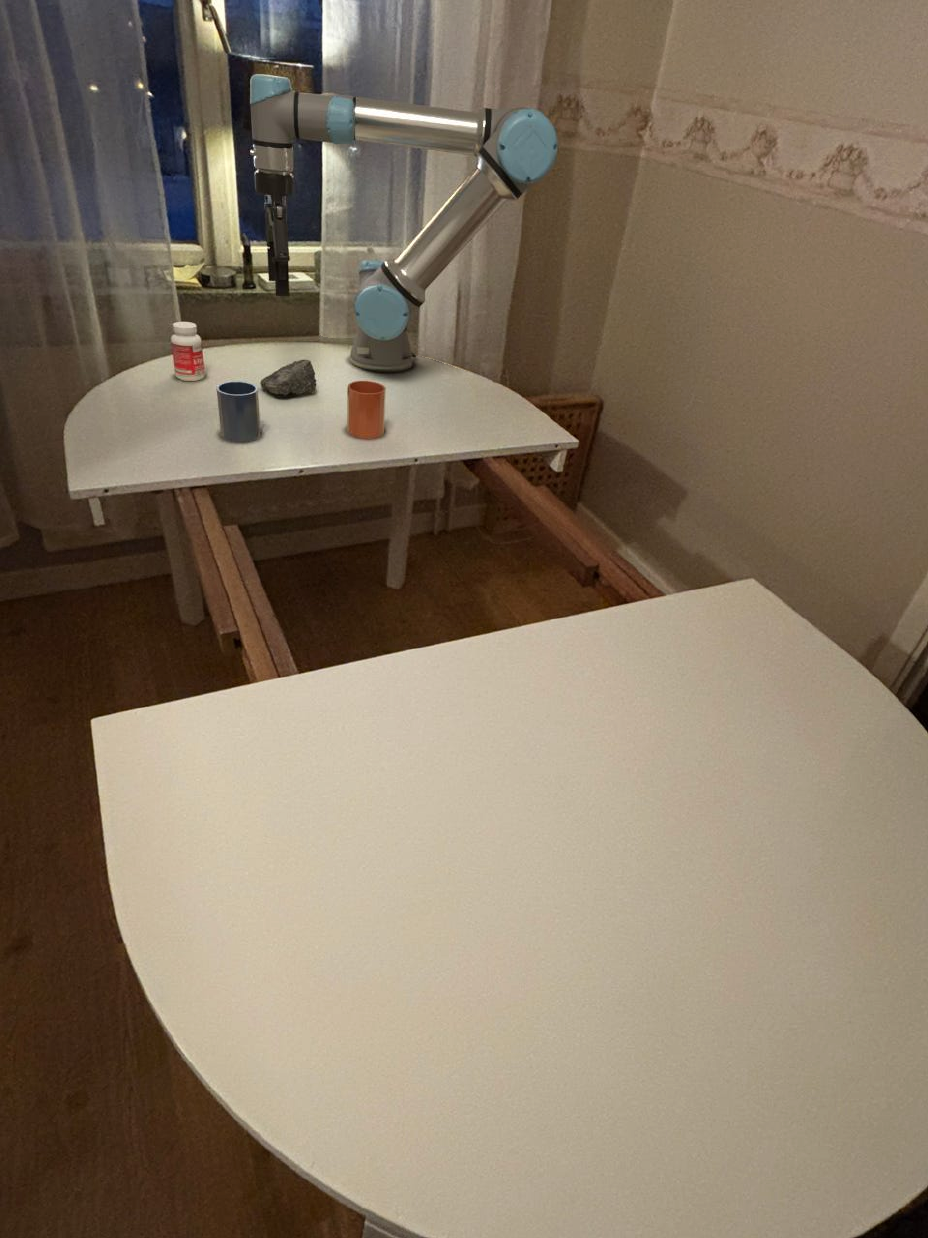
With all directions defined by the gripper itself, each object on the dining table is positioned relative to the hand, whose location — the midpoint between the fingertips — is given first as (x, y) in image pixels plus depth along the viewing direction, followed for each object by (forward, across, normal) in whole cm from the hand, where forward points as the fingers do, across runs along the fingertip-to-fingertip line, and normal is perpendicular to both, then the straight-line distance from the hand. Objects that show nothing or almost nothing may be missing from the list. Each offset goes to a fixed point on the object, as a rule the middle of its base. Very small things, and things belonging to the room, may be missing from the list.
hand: (278, 288), depth 159 cm
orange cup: (+18, +35, +12) cm, 41 cm away
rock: (+18, +13, 0) cm, 23 cm away
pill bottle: (+18, +3, -20) cm, 27 cm away
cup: (+18, +35, -12) cm, 41 cm away
